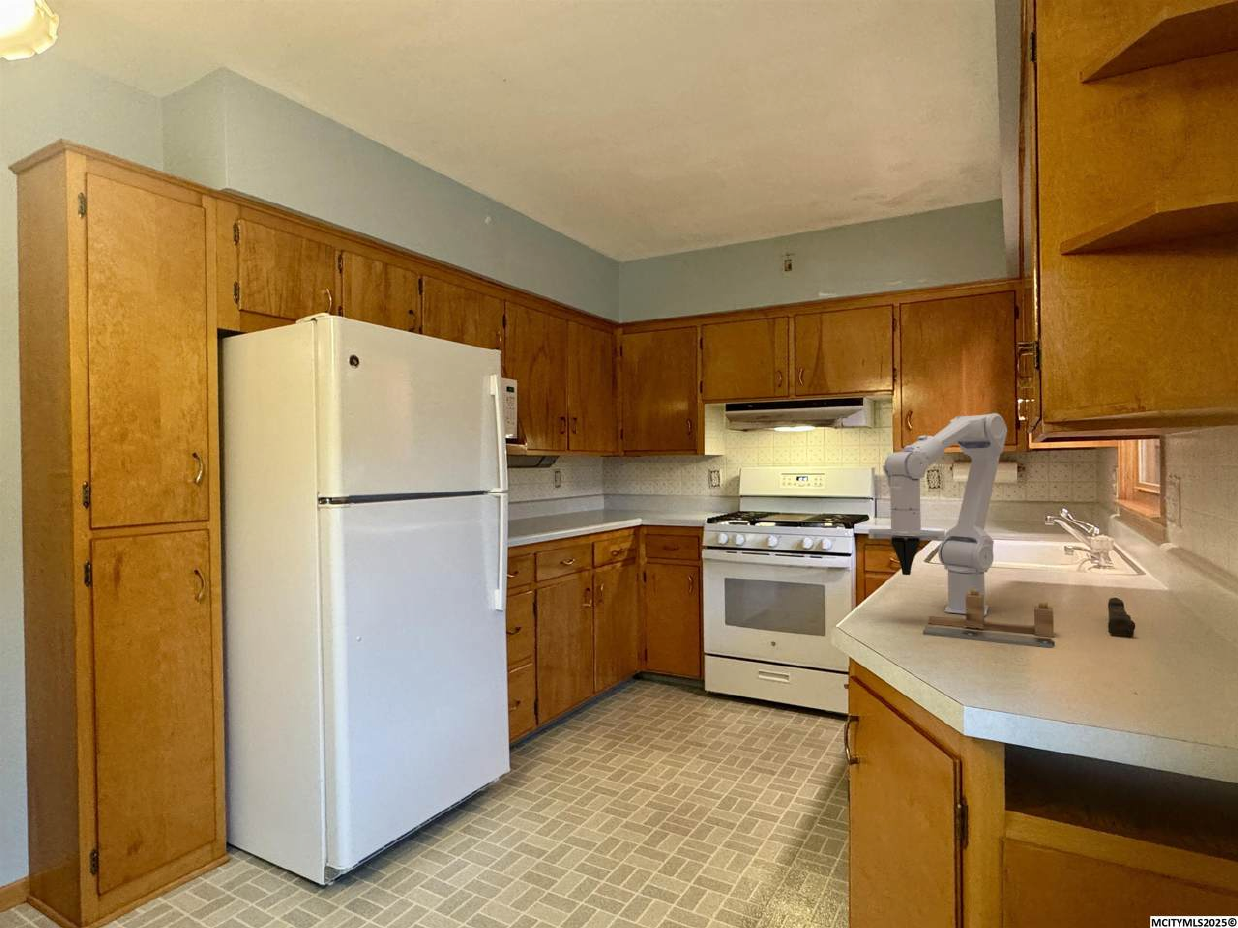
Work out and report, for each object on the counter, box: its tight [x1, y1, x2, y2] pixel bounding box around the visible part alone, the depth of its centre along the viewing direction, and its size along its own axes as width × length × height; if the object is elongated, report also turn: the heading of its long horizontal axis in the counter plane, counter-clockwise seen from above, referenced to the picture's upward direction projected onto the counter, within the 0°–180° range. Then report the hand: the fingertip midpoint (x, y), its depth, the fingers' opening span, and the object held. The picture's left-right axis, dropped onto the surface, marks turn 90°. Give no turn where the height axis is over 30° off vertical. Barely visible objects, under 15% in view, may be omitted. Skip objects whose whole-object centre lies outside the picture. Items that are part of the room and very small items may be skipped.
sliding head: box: [965, 589, 985, 630], centre depth 132 cm, size 4×3×7 cm
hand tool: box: [1107, 597, 1136, 639], centre depth 131 cm, size 19×4×5 cm, turn 144°
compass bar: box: [927, 601, 1055, 638], centre depth 131 cm, size 4×22×6 cm, turn 59°
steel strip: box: [922, 625, 1056, 649], centre depth 124 cm, size 4×21×1 cm, turn 59°
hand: (906, 574), depth 138 cm, fingers closed
